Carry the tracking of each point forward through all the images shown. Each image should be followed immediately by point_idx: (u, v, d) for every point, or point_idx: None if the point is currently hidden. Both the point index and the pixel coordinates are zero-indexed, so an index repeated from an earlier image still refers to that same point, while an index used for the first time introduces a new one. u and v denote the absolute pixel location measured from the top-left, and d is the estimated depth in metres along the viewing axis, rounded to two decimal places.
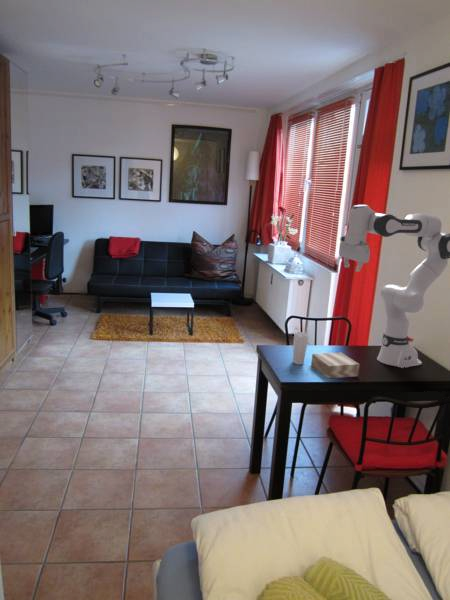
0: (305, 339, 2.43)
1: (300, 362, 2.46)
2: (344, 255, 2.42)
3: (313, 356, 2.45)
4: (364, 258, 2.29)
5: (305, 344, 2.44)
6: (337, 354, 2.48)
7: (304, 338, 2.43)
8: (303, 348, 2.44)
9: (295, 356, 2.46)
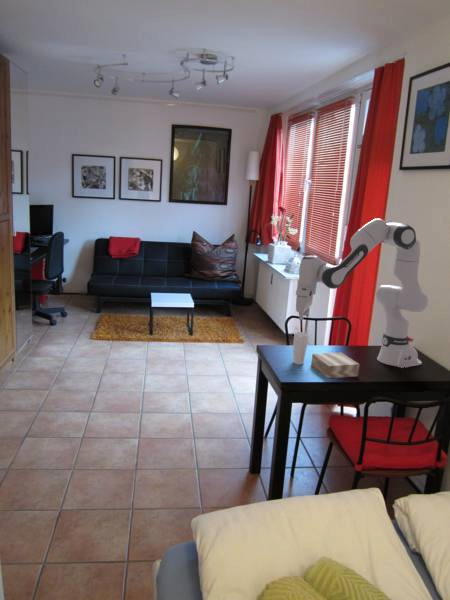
0: (305, 339, 2.43)
1: (300, 362, 2.46)
2: (305, 309, 2.37)
3: (313, 356, 2.45)
4: None
5: (305, 344, 2.44)
6: (337, 354, 2.48)
7: (304, 338, 2.43)
8: (303, 348, 2.44)
9: (295, 356, 2.46)
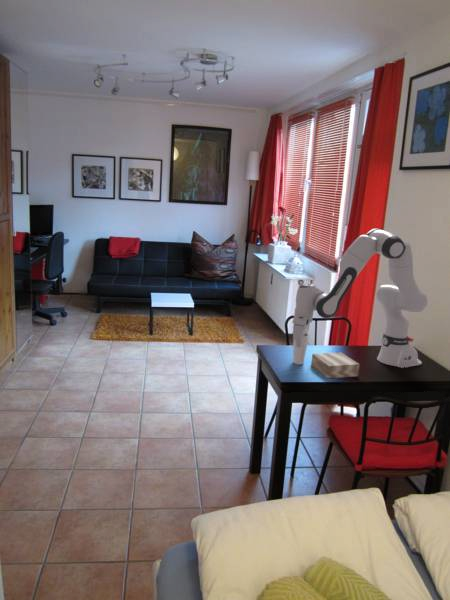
0: (305, 339, 2.43)
1: (300, 362, 2.46)
2: (302, 336, 2.40)
3: (313, 356, 2.45)
4: None
5: (305, 344, 2.44)
6: (337, 354, 2.48)
7: (304, 338, 2.43)
8: (303, 348, 2.44)
9: (295, 356, 2.46)
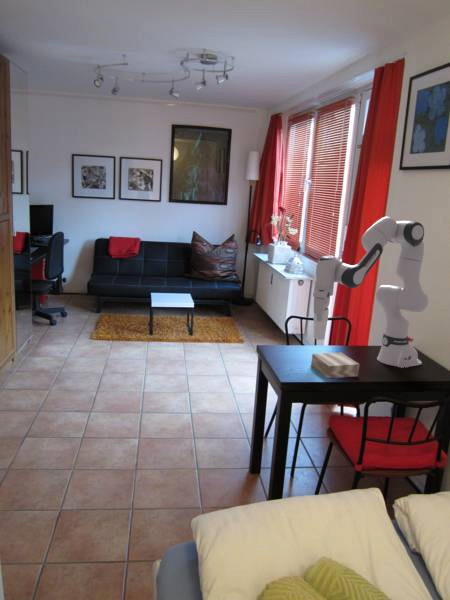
0: (326, 313, 2.37)
1: (321, 337, 2.40)
2: (323, 310, 2.34)
3: (313, 356, 2.45)
4: None
5: (326, 318, 2.38)
6: (337, 354, 2.48)
7: (325, 312, 2.36)
8: (324, 322, 2.38)
9: (316, 331, 2.40)
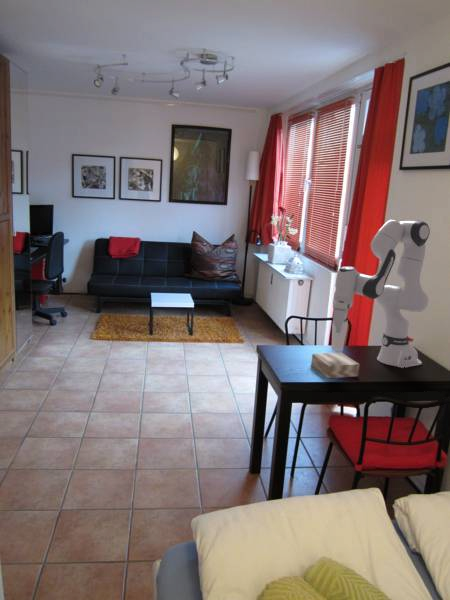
0: (345, 325, 2.34)
1: (339, 349, 2.37)
2: None
3: (313, 356, 2.45)
4: None
5: (345, 330, 2.35)
6: (337, 354, 2.48)
7: (344, 324, 2.34)
8: (343, 334, 2.35)
9: (334, 343, 2.37)
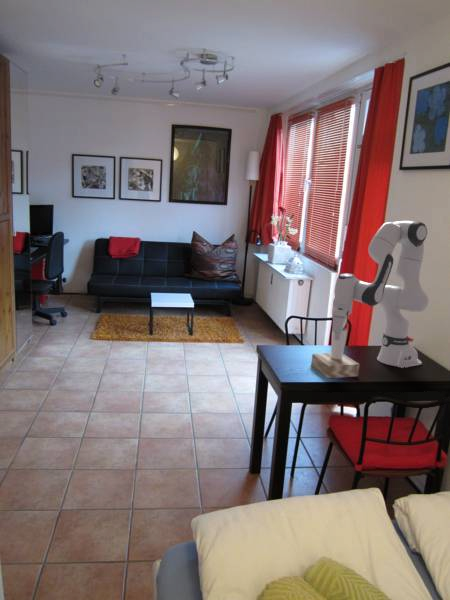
0: (344, 334, 2.36)
1: (339, 357, 2.39)
2: None
3: (313, 356, 2.45)
4: None
5: (344, 339, 2.37)
6: None
7: (343, 332, 2.35)
8: (342, 343, 2.37)
9: (334, 351, 2.39)
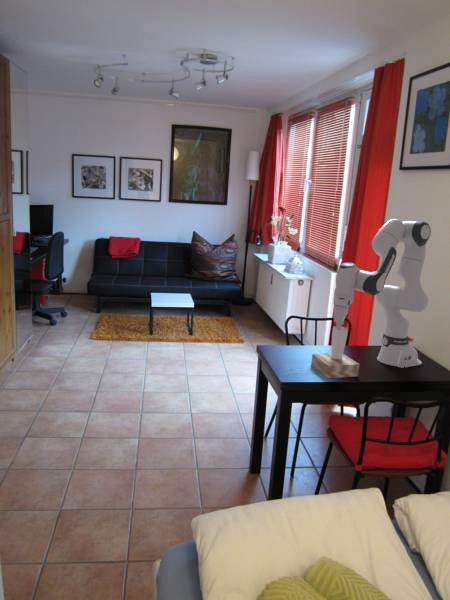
0: (345, 333, 2.36)
1: (339, 357, 2.39)
2: (343, 318, 2.31)
3: (313, 356, 2.45)
4: None
5: (344, 338, 2.37)
6: None
7: (344, 332, 2.36)
8: (342, 342, 2.37)
9: (334, 351, 2.39)
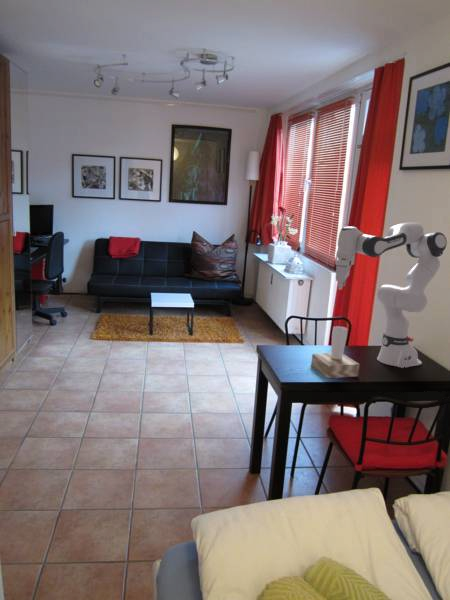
0: (345, 333, 2.36)
1: (339, 357, 2.39)
2: (345, 278, 2.43)
3: (313, 356, 2.45)
4: None
5: (344, 338, 2.37)
6: None
7: (344, 332, 2.35)
8: (342, 343, 2.37)
9: (334, 351, 2.39)
